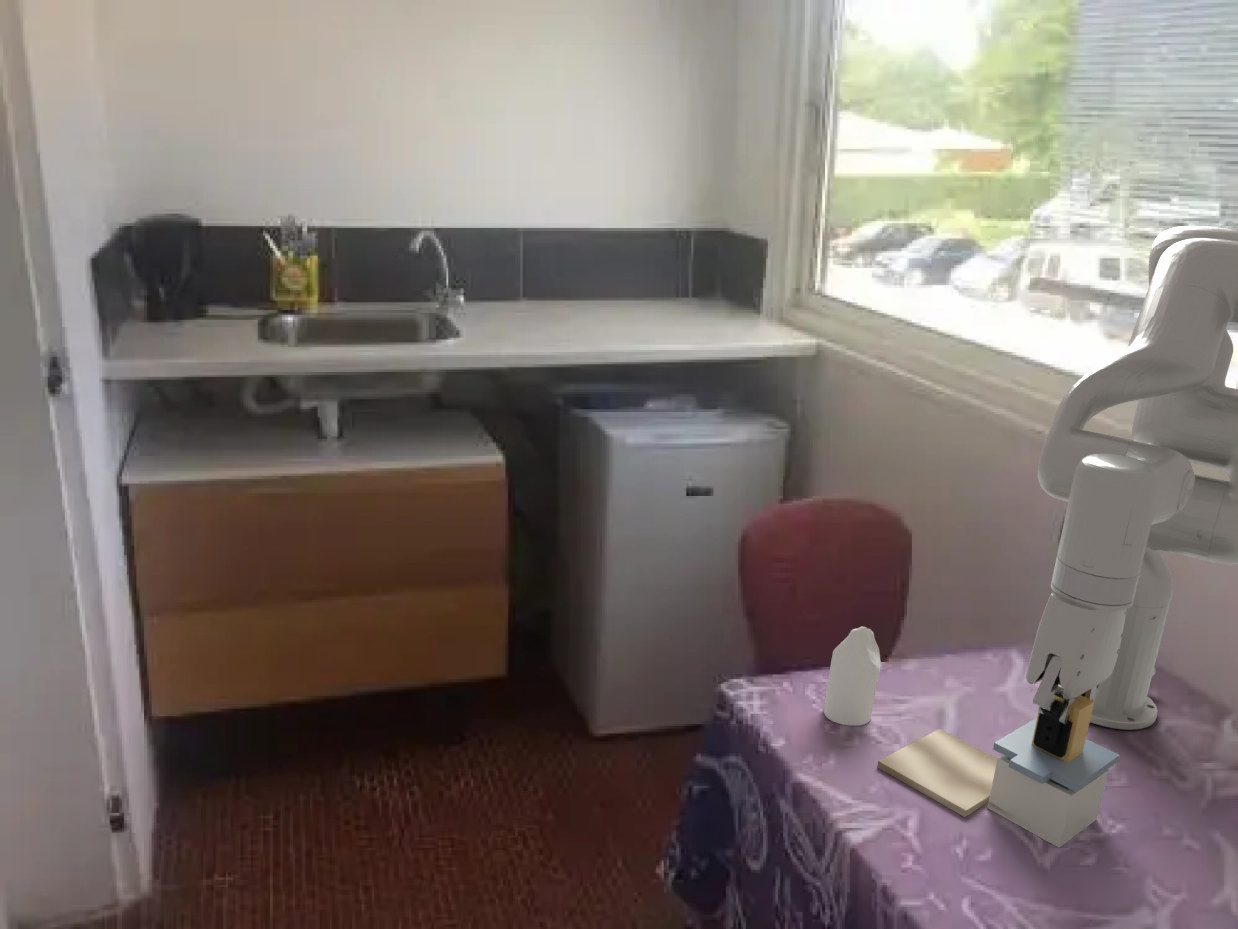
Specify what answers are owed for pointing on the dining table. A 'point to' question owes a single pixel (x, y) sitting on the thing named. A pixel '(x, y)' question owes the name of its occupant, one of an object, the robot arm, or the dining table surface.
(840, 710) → the white faceted top cylinder
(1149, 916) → the dining table surface
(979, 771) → the board
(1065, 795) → the tub
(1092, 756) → the lid
